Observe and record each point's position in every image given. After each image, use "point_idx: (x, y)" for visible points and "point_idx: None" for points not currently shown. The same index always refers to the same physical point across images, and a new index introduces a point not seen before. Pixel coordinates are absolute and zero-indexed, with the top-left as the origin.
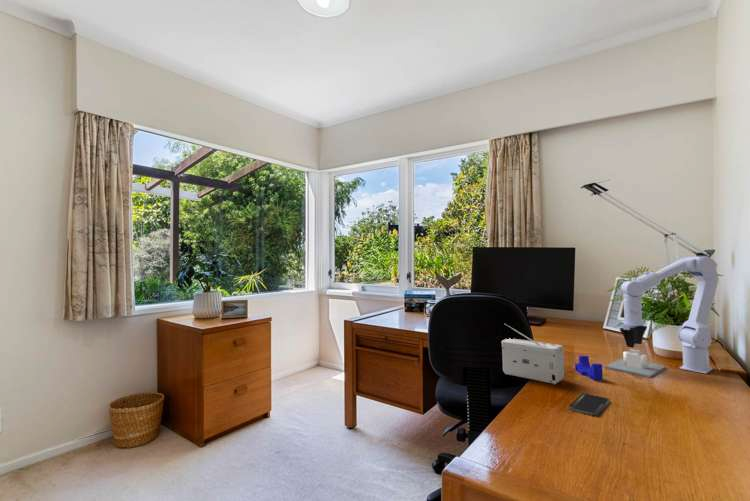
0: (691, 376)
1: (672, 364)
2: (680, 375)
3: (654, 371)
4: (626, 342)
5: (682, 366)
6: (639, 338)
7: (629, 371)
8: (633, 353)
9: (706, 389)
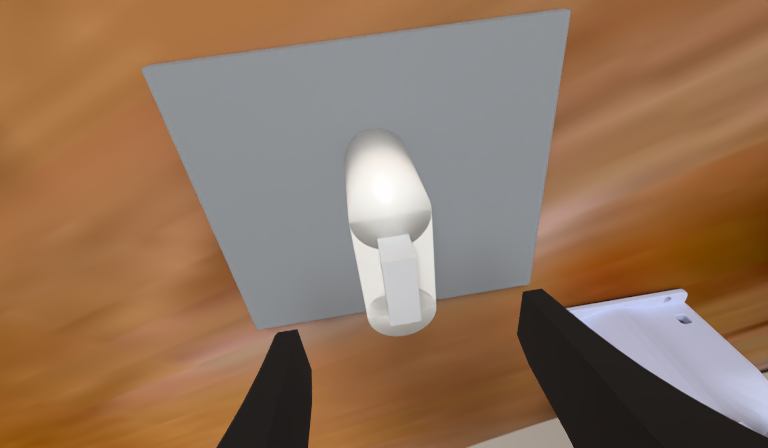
0: (459, 369)
1: (642, 255)
2: (438, 349)
3: (364, 305)
4: (259, 381)
5: (595, 311)
6: (556, 389)
7: (220, 244)
8: (381, 267)
9: (320, 441)
